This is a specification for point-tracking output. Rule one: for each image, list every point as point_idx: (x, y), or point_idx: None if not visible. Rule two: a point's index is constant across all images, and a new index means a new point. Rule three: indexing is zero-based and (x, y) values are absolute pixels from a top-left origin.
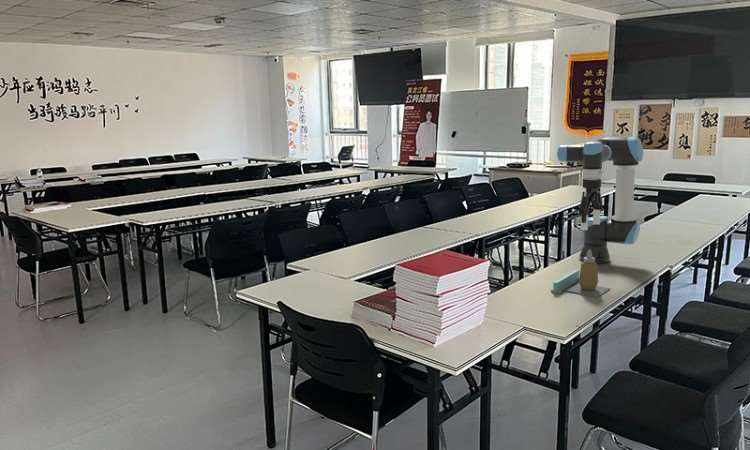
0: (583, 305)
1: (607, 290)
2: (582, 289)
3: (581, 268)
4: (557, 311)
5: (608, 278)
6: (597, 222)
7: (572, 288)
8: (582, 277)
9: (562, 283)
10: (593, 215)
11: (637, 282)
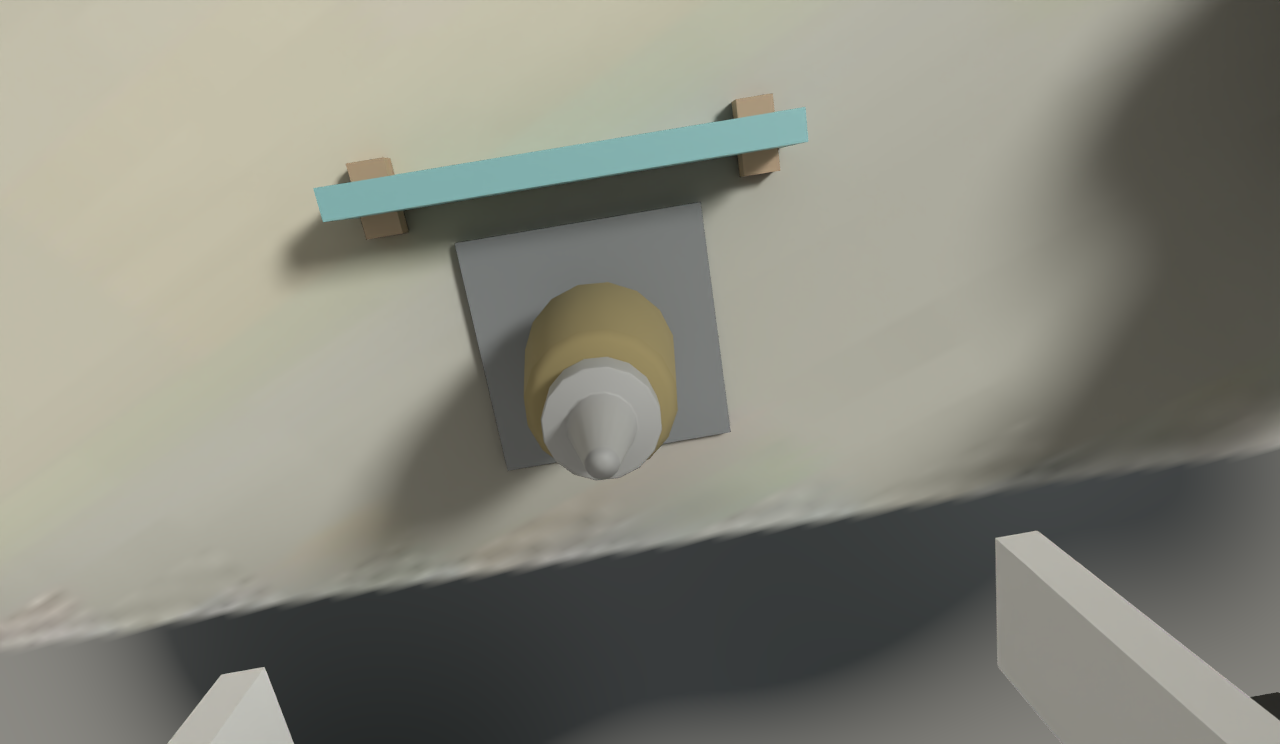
0: (304, 484)
1: (681, 438)
2: None
3: (536, 349)
4: (65, 438)
5: (970, 286)
6: (1024, 669)
7: (531, 249)
8: (526, 355)
9: (450, 201)
10: (1184, 712)
11: (992, 472)
